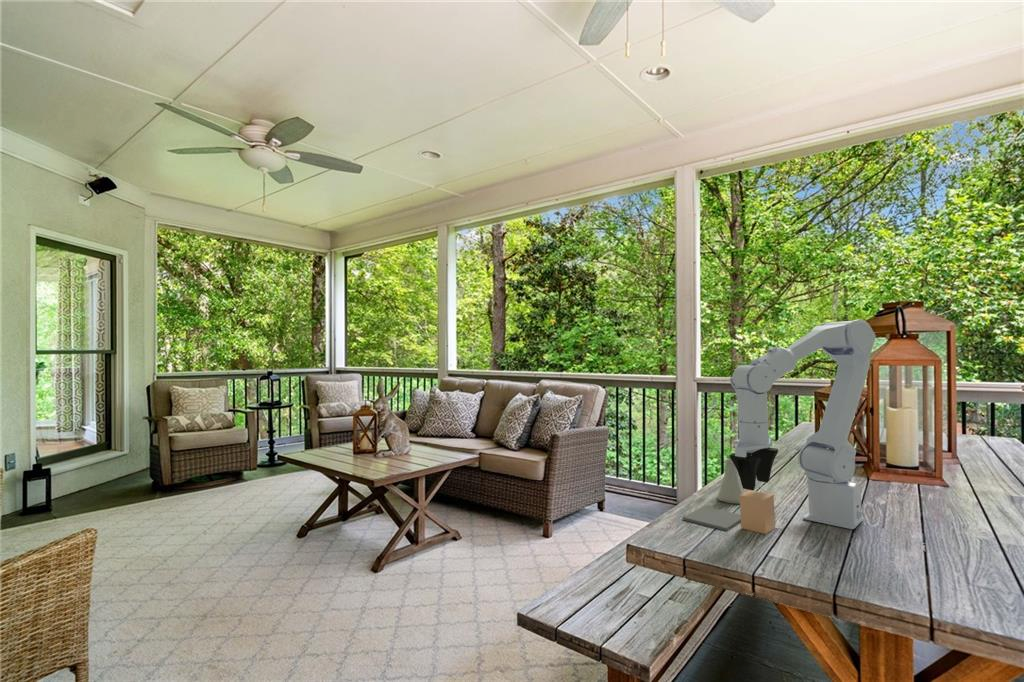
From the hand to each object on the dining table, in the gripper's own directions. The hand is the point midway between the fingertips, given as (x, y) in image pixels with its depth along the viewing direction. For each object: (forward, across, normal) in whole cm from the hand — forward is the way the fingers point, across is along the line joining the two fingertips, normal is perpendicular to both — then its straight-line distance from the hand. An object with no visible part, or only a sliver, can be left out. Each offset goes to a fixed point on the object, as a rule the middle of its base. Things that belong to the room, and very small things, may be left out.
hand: (756, 485), depth 103 cm
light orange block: (+9, 0, 0) cm, 9 cm away
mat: (+9, +1, -9) cm, 13 cm away
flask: (+9, -15, -12) cm, 21 cm away
